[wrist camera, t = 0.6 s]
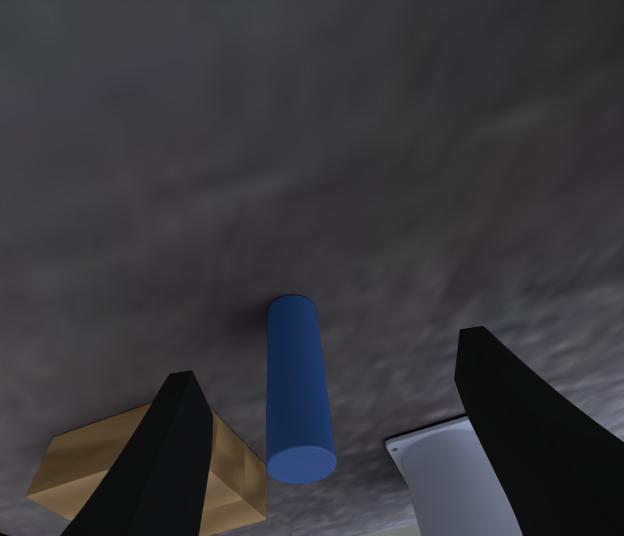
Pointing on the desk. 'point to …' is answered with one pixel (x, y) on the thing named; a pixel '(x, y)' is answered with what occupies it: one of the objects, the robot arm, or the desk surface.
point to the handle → (296, 395)
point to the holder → (109, 444)
